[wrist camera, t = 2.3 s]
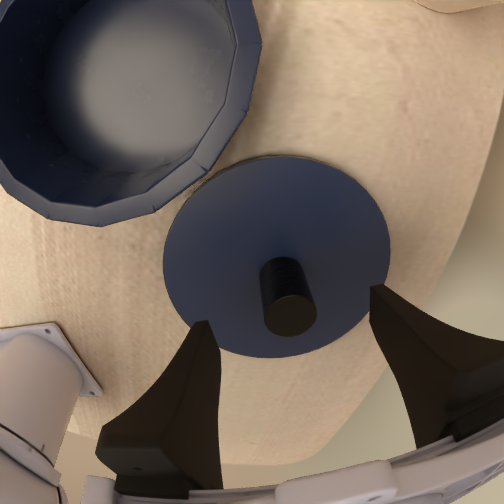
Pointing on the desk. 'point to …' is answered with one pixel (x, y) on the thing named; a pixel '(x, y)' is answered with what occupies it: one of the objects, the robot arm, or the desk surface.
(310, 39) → the desk surface
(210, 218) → the tin lid
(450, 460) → the robot arm
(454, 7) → the cylindrical container
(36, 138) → the tin
